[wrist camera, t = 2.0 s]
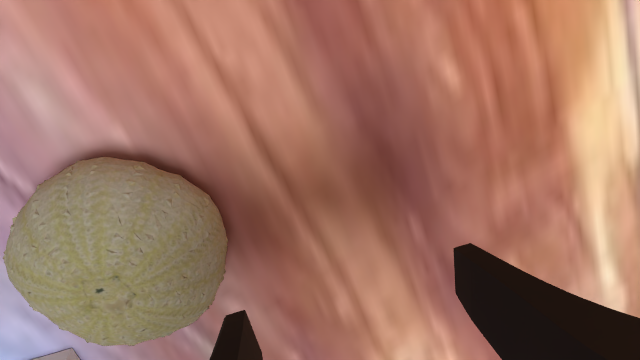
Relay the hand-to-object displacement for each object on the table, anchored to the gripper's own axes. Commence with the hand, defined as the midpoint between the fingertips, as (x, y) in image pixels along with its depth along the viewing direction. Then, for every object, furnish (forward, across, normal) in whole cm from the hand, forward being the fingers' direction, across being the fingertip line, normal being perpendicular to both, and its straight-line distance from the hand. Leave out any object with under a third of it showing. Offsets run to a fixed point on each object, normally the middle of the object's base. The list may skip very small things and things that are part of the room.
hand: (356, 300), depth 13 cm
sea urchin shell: (+9, +9, 0) cm, 13 cm away
